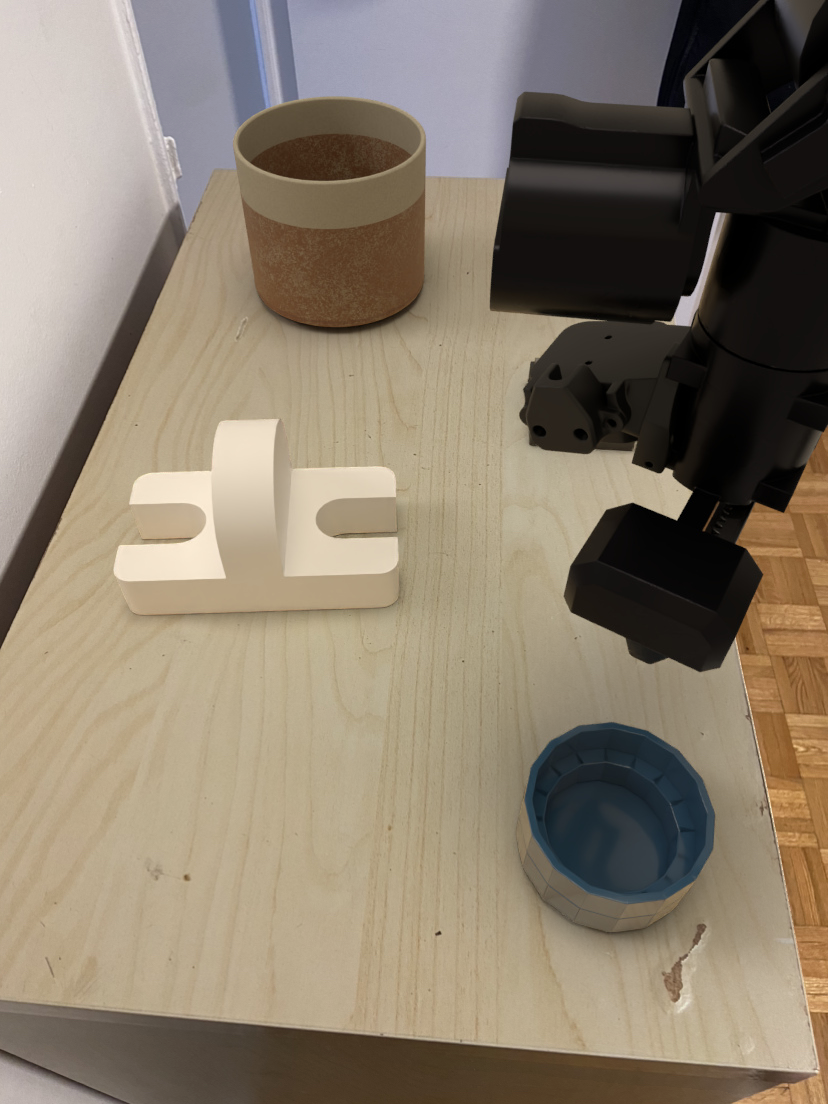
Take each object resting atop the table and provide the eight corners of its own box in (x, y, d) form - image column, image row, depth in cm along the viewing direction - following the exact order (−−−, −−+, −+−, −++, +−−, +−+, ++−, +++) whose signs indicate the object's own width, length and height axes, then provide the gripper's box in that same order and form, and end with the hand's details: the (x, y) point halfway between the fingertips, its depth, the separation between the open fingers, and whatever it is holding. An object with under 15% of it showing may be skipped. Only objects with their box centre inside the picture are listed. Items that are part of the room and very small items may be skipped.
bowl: (694, 788, 47) (719, 747, 44) (682, 957, 42) (709, 927, 38) (533, 747, 49) (543, 704, 45) (500, 905, 43) (509, 871, 40)
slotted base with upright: (399, 606, 56) (397, 493, 47) (124, 615, 55) (73, 502, 47) (395, 501, 62) (393, 384, 53) (148, 508, 61) (107, 391, 53)
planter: (433, 328, 75) (436, 177, 65) (254, 339, 74) (228, 187, 64) (415, 235, 85) (415, 92, 75) (257, 244, 84) (235, 99, 74)
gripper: (659, 161, 38) (600, 425, 49) (450, 391, 27) (440, 654, 39) (923, 228, 34) (790, 497, 46) (795, 524, 24) (667, 770, 36)
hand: (675, 590), depth 42 cm, fingers open, 9 cm apart
